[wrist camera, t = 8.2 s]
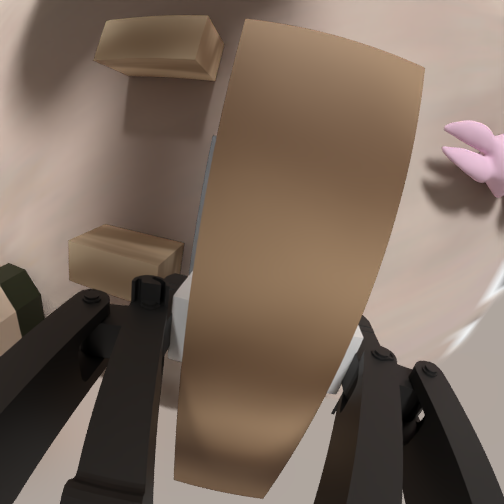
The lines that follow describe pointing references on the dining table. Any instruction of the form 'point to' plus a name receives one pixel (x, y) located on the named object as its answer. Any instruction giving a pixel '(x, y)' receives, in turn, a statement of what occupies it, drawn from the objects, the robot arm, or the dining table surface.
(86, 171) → the dining table surface
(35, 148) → the dining table surface
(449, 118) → the dining table surface
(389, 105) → the walnut beam
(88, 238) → the board
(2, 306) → the wine bottle
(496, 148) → the rabbit figure
